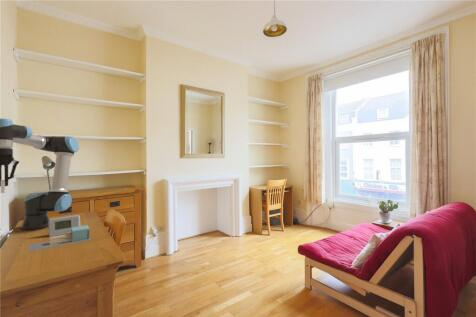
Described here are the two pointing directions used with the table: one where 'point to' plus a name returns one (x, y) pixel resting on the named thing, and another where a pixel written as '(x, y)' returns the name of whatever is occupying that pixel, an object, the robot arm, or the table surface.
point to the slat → (60, 239)
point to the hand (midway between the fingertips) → (3, 192)
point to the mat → (47, 245)
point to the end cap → (80, 233)
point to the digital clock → (63, 225)
